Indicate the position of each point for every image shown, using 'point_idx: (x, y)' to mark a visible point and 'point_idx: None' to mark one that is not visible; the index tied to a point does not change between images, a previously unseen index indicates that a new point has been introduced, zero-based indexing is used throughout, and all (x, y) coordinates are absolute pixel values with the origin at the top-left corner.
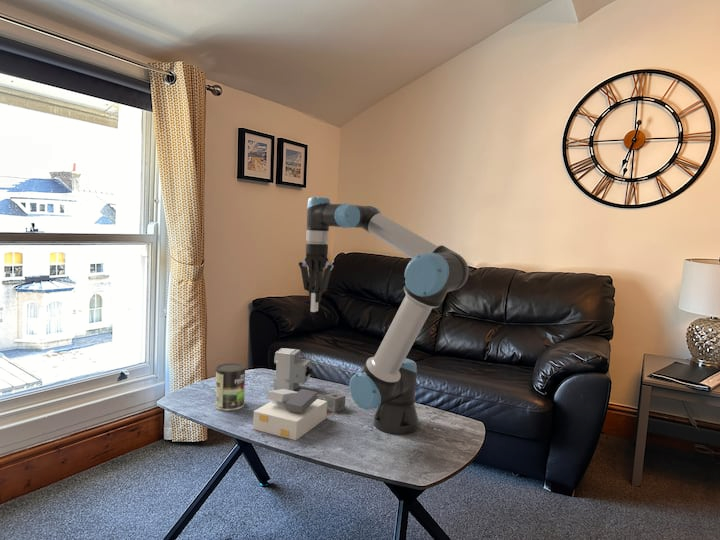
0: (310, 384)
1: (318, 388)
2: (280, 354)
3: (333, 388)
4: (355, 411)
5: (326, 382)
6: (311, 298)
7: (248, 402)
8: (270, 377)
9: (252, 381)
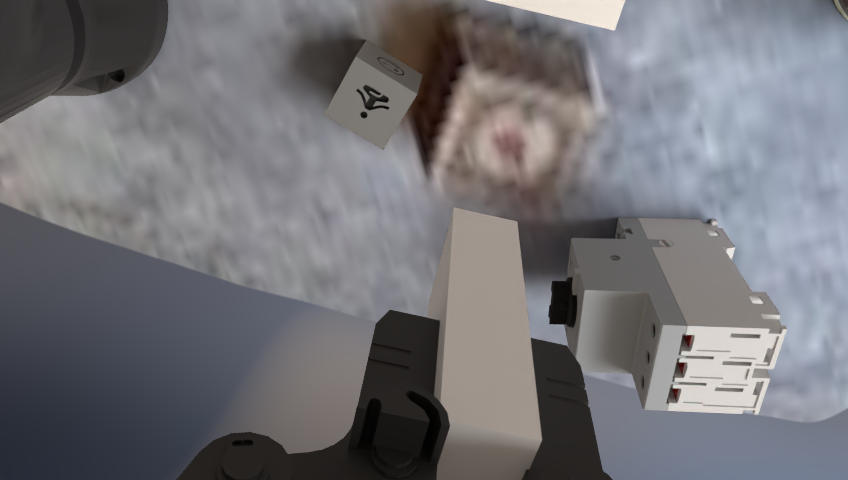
0: None
1: None
2: (748, 323)
3: None
4: (283, 83)
5: None
6: (521, 348)
7: (812, 27)
8: None
9: (835, 282)
